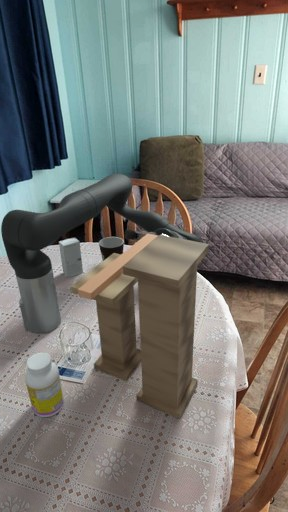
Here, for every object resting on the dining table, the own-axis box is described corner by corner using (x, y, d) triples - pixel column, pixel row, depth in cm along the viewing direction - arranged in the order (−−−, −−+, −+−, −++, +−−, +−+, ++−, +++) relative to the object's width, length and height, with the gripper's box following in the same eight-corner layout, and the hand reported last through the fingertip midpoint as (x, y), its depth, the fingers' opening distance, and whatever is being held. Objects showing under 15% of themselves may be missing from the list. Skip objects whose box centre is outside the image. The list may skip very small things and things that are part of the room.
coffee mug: (124, 273, 124) (123, 247, 119) (99, 273, 124) (97, 248, 120) (126, 257, 134) (125, 233, 130) (103, 257, 135) (101, 233, 130)
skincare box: (67, 277, 122) (62, 246, 117) (62, 272, 126) (57, 241, 120) (84, 272, 125) (80, 241, 120) (78, 267, 129) (74, 236, 123)
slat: (147, 238, 90) (147, 233, 89) (158, 241, 88) (158, 235, 88) (78, 295, 68) (77, 289, 67) (91, 300, 67) (90, 293, 66)
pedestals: (120, 336, 95) (111, 216, 79) (206, 366, 85) (215, 235, 69) (78, 383, 81) (57, 250, 65) (175, 426, 71) (178, 280, 55)
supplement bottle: (33, 396, 78) (22, 351, 72) (64, 390, 80) (55, 346, 74) (32, 422, 73) (20, 376, 67) (65, 415, 74) (56, 369, 68)
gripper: (188, 262, 95) (166, 258, 80) (141, 252, 101) (112, 246, 86) (195, 235, 95) (173, 225, 80) (147, 226, 101) (119, 216, 86)
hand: (142, 236), depth 83 cm, fingers open, 8 cm apart
